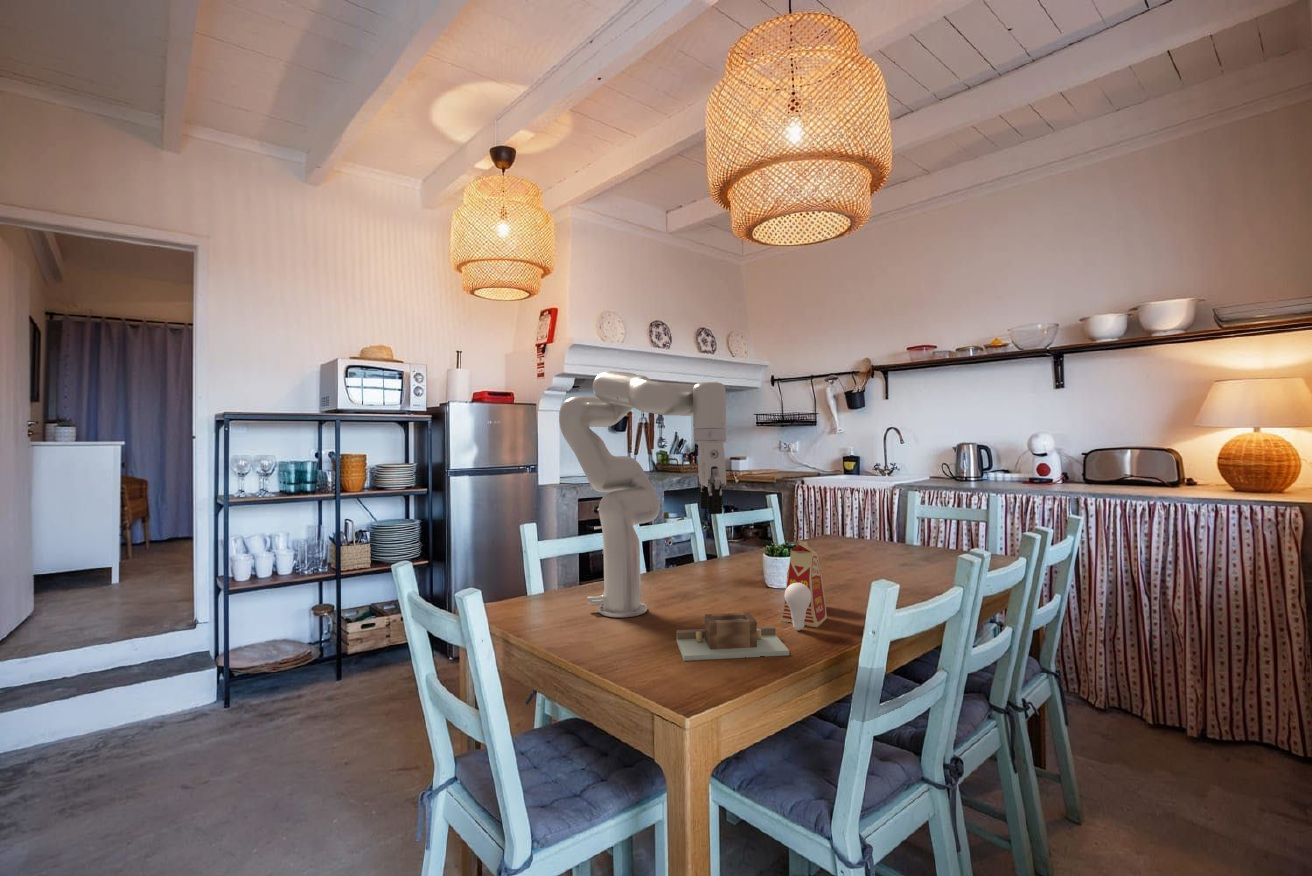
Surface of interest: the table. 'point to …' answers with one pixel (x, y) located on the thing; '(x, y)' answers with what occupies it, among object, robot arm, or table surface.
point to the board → (698, 649)
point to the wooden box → (730, 631)
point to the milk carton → (809, 574)
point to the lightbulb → (798, 603)
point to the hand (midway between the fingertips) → (711, 511)
